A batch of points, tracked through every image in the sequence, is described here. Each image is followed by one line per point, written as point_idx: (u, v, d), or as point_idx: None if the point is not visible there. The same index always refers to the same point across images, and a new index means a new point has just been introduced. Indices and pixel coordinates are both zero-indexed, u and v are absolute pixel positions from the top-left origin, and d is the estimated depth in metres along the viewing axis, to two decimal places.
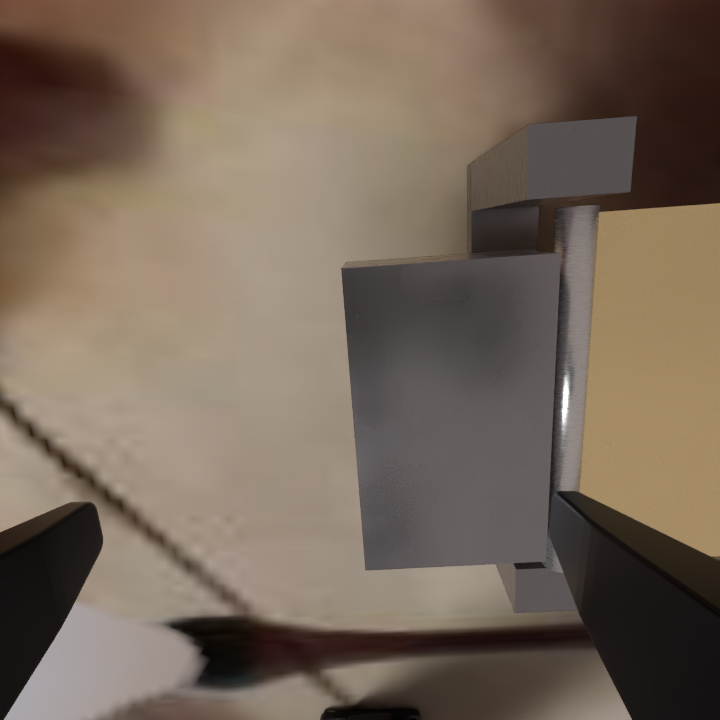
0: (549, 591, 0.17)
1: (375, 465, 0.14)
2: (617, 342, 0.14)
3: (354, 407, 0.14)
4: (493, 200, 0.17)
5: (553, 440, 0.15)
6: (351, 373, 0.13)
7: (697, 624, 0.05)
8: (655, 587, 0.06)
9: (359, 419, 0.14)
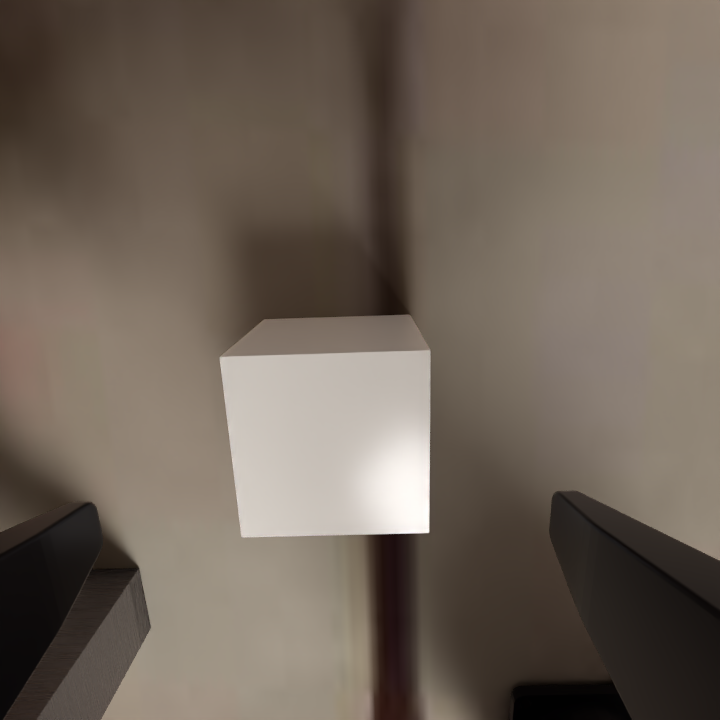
0: None
1: None
2: None
3: None
4: None
5: None
6: None
7: (696, 624, 0.05)
8: (655, 587, 0.06)
9: None
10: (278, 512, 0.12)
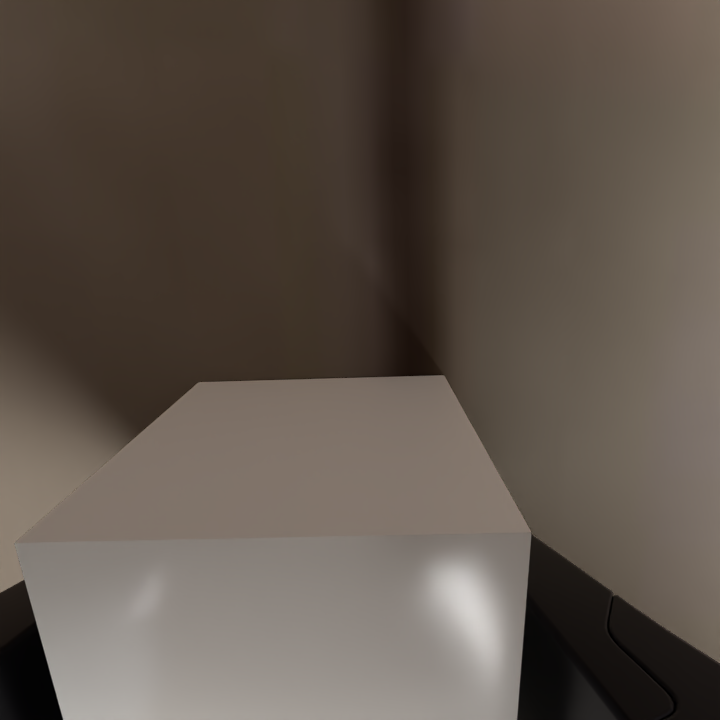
0: None
1: None
2: None
3: None
4: None
5: None
6: None
7: (529, 627, 0.05)
8: None
9: None
10: None
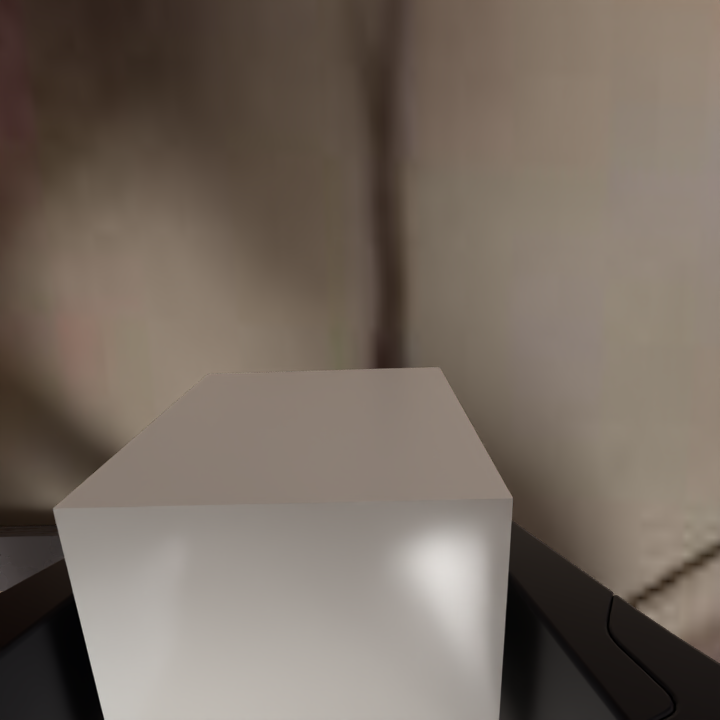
0: None
1: None
2: None
3: None
4: None
5: None
6: None
7: (529, 627, 0.05)
8: None
9: None
10: None
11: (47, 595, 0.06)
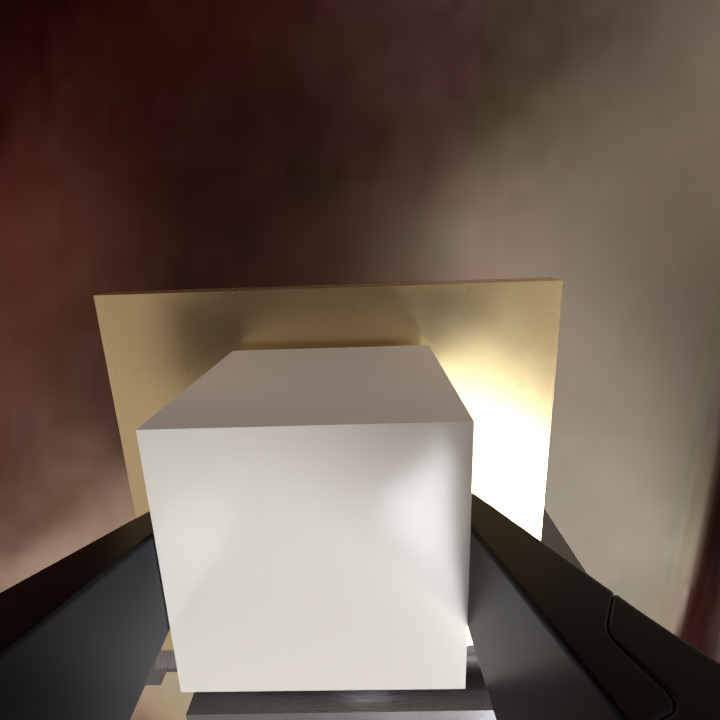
0: None
1: None
2: None
3: None
4: None
5: None
6: None
7: (529, 627, 0.05)
8: (504, 590, 0.06)
9: None
10: (235, 658, 0.08)
11: (47, 595, 0.06)
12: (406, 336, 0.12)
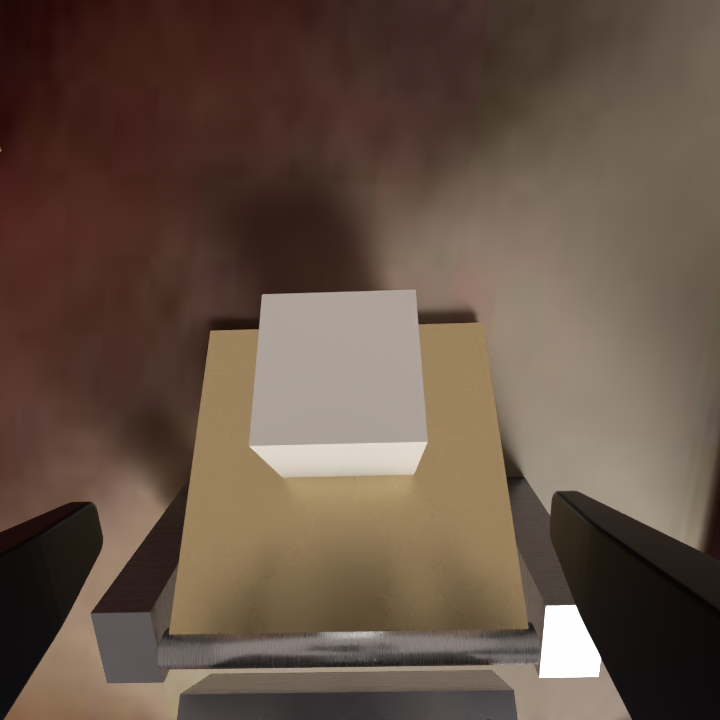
0: (574, 647, 0.15)
1: None
2: (286, 604, 0.15)
3: None
4: None
5: (383, 664, 0.15)
6: None
7: (697, 624, 0.05)
8: (655, 587, 0.06)
9: None
10: (287, 419, 0.13)
11: None
12: None
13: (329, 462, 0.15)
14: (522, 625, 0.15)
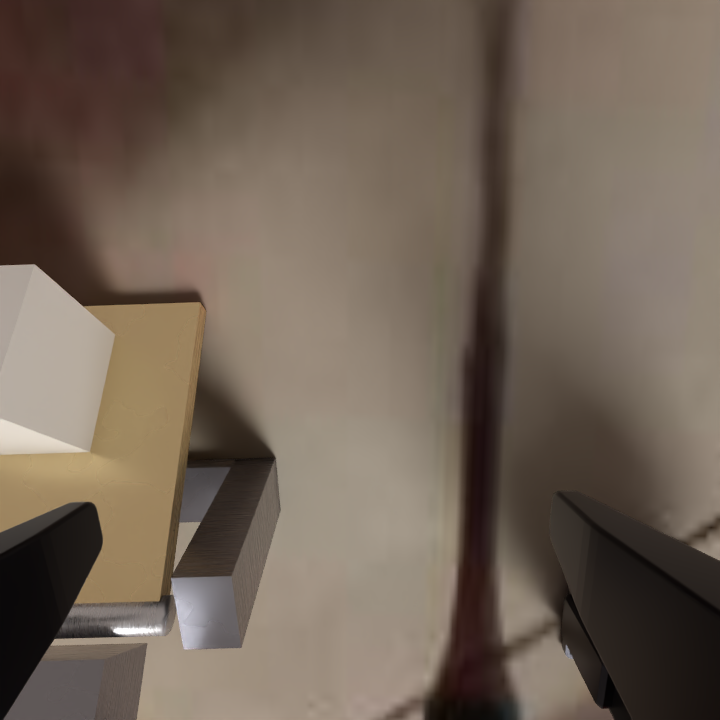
0: (209, 618, 0.15)
1: None
2: None
3: None
4: None
5: None
6: None
7: (697, 624, 0.05)
8: (655, 587, 0.06)
9: None
10: None
11: None
12: None
13: None
14: (154, 597, 0.15)
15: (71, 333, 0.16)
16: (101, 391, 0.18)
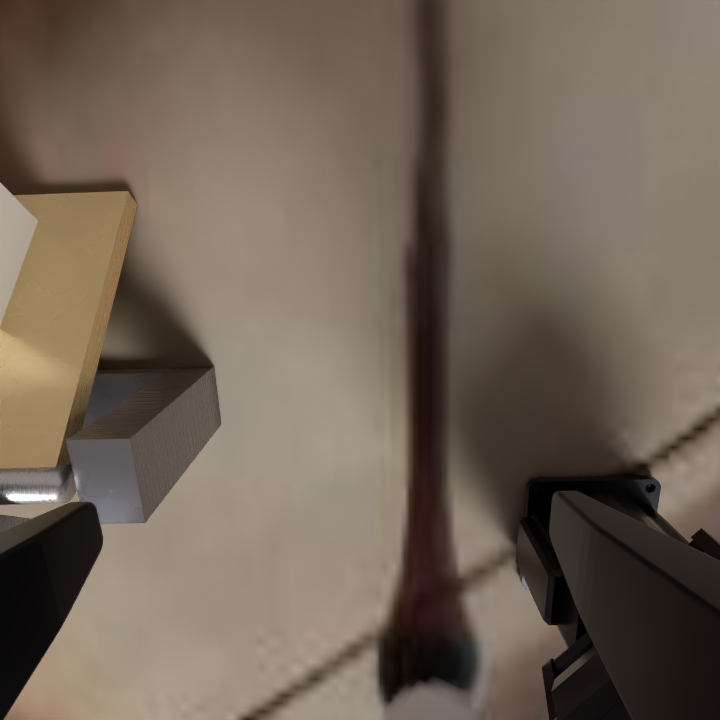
0: (110, 488, 0.14)
1: None
2: None
3: None
4: None
5: None
6: None
7: (696, 624, 0.05)
8: (655, 587, 0.06)
9: None
10: None
11: None
12: None
13: None
14: (50, 463, 0.14)
15: None
16: (17, 271, 0.17)
